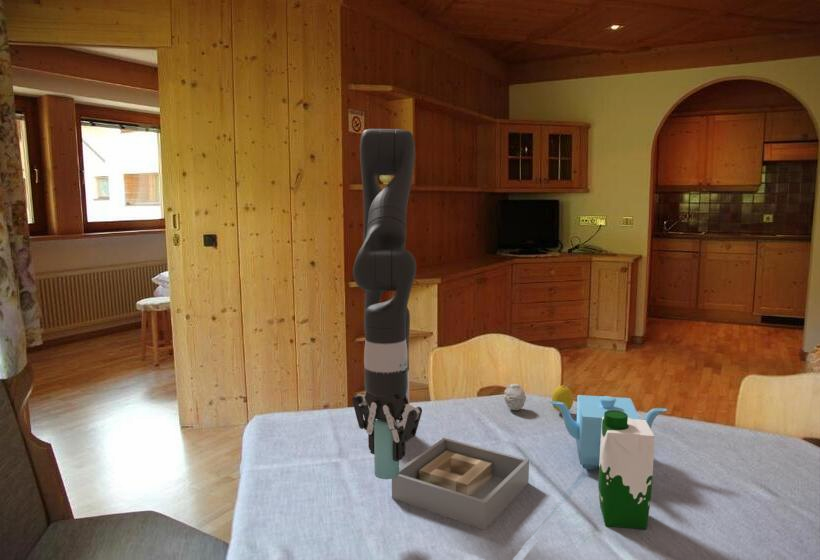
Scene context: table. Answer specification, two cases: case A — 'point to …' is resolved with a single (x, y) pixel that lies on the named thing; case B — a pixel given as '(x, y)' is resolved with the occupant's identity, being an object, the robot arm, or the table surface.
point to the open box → (471, 510)
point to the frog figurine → (514, 397)
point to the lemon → (563, 397)
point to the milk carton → (625, 470)
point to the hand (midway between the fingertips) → (386, 455)
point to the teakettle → (596, 423)
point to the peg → (384, 451)
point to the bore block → (449, 461)
